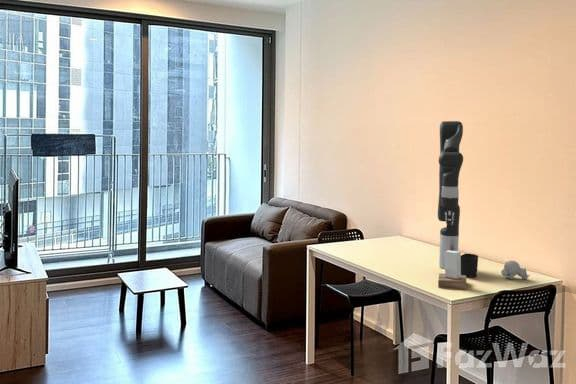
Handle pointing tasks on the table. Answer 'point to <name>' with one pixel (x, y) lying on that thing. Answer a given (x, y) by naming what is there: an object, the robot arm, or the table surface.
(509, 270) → the round bodied animal figurine
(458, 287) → the walnut block
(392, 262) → the table surface
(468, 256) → the pen holder
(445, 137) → the robot arm
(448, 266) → the skincare box
